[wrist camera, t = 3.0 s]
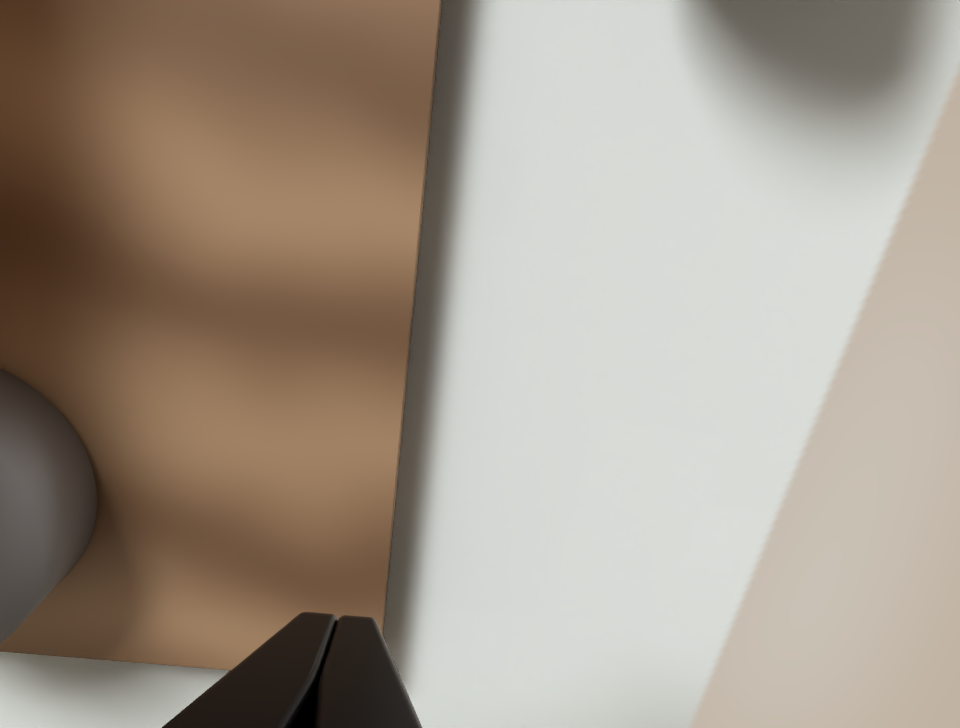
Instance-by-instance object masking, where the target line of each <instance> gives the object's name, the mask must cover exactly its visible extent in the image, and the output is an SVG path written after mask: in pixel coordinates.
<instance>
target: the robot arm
mask: <svg viewBox="0 0 960 728" xmlns="http://www.w3.org/2000/svg"><path fill="white" fill-rule="evenodd" d="M162 728H422V726H421V724H420V721H419V719H418V717H417V714H416V712H415V710H414V707H413V705H412V703H411V700H410V698H409V696H408V693H407V691H406V689H405V686H404V684H403V682H402V679H401V677H400V675H399V672H398V670H397V668H396V665H395V663H394V661H393V658H392V656H391V654H390V651H389V649H388V647H387V644H386V642H385V640H384V637H383V635H382V632H381V630H380V628H379V625H378V623H377V621H376V620H375V619H374V618H372V617H363V616H351V615H343V616H341V617H340V618H339V619H337V616H335V615H334V614H328V613H316V612H302V613H300V614H299V615H297V616H296V617H295V618H294V619H292V620H291V621H290V622H289V623H288V624H286V625H285V626H284V627H283V628H282V629H280V630H279V631H278V632H277V633H276V634H274V635H273V636H272V637H271V638H269V639H268V640H267V641H266V642H265V643H263V644H262V645H261V646H260V647H259V648H257V649H256V650H255V651H254V652H253V653H251V654H250V655H249V656H248V657H247V658H245V659H244V660H243V661H242V662H241V663H239V664H238V665H237V666H236V667H234V668H233V669H232V670H231V671H230V672H228V673H227V674H226V675H225V676H224V677H222V678H221V679H220V680H219V681H218V682H216V683H215V684H214V685H213V686H212V687H210V688H209V689H208V690H207V691H206V692H204V693H203V694H202V695H201V696H199V697H198V698H197V699H196V700H195V701H193V702H192V703H191V704H190V705H189V706H187V707H186V708H185V709H184V710H183V711H181V712H180V713H179V714H178V715H177V716H175V717H174V718H173V719H172V720H171V721H169V722H168V723H167V724H166V725H164V726H163V727H162Z"/></svg>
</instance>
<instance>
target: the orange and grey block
mask: <svg viewBox="0 0 960 728" xmlns="http://www.w3.org/2000/svg"><path fill="white" fill-rule="evenodd" d="M96 515H97V491H96V482H95V478H94V474H93V470H92V466H91V463H90V461H89V458H88V456H87V453H86V451H85V448H84V447H83V445H82V443H81V441H80V439H79V437H78V436H77V434H76V432H75V431H74V430H73V428H72V427H71V425H70V424H69V423H68V421H67V420H66V418H65V417H64V416H63V415H62V414H61V413H60V412H59V411H58V410H57V409H56V407H55V406H54V405H53V404H52V403H51V402H49V401H48V400H47V399H46V398H45V397H44V396H43V395H42V394H40V393H39V392H38V391H37V390H35V389H34V388H32V387H31V386H30V385H28V384H27V383H25V382H24V381H22V380H21V379H19V378H17V377H15V376H14V375H12V374H10V373H8V372H6V371H4V370H2V369H0V644H1V643H2V642H3V641H4V640H5V639H6V638H8V637H9V636H10V635H11V634H12V633H13V632H14V631H15V630H16V629H17V628H18V627H19V626H20V625H21V623H22V622H23V621H24V620H25V619H26V618H27V617H28V616H29V615H30V614H31V613H32V612H33V611H34V609H35V608H36V607H37V606H38V605H39V604H40V603H41V602H42V601H43V600H44V599H45V598H46V597H47V595H48V594H49V593H50V592H51V591H52V590H53V589H54V588H55V587H56V586H57V585H58V584H59V583H60V581H61V580H62V579H63V578H64V577H65V576H66V575H67V574H68V573H69V572H70V571H71V570H72V568H73V567H74V566H75V564H76V563H77V562H78V561H79V559H80V558H81V556H82V555H83V553H84V551H85V549H86V548H87V546H88V544H89V541H90V538H91V536H92V533H93V530H94V525H95V520H96Z"/></svg>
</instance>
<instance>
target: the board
mask: <svg viewBox="0 0 960 728" xmlns="http://www.w3.org/2000/svg"><path fill="white" fill-rule="evenodd" d="M442 1H443V0H0V369H2V370H4V371H6V372H8V373H10V374H12V375H14V376H15V377H17V378H19V379H21V380H22V381H24V382H25V383H27V384H28V385H30V386H31V387H32V388H34V389H35V390H37V391H38V392H39V393H40V394H42V395H43V396H44V397H45V398H46V399H47V400H48V401H49V402H51V403H52V404H53V405H54V406H55V407H56V409H57V410H58V411H59V412H60V413H61V414H62V415H63V416H64V417H65V418H66V420H67V421H68V423H69V424H70V425H71V427H72V428H73V430H74V431H75V432H76V434H77V436H78V437H79V439H80V441H81V443H82V445H83V447H84V448H85V451H86V453H87V456H88V458H89V461H90V463H91V466H92V470H93V474H94V478H95V482H96V491H97V515H96V520H95V525H94V530H93V533H92V536H91V538H90V541H89V544H88V546H87V548H86V549H85V551H84V553H83V555H82V556H81V558H80V559H79V561H78V562H77V563H76V564H75V566H74V567H73V568H72V570H71V571H70V572H69V573H68V574H67V575H66V576H65V577H64V578H63V579H62V580H61V581H60V583H59V584H58V585H57V586H56V587H55V588H54V589H53V590H52V591H51V592H50V593H49V594H48V595H47V597H46V598H45V599H44V600H43V601H42V602H41V603H40V604H39V605H38V606H37V607H36V608H35V609H34V611H33V612H32V613H31V614H30V615H29V616H28V617H27V618H26V619H25V620H24V621H23V622H22V623H21V625H20V626H19V627H18V628H17V629H16V630H15V631H14V632H13V633H12V634H11V635H10V636H9V637H8V638H6V639H5V640H4V641H3V642H2V643H1V644H0V651H1V652H14V653H26V654H38V655H51V656H63V657H75V658H88V659H100V660H112V661H125V662H137V663H149V664H162V665H174V666H186V667H198V668H211V669H223V670H232V669H233V668H234V667H236V666H237V665H238V664H239V663H241V662H242V661H243V660H244V659H245V658H247V657H248V656H249V655H250V654H251V653H253V652H254V651H255V650H256V649H257V648H259V647H260V646H261V645H262V644H263V643H265V642H266V641H267V640H268V639H269V638H271V637H272V636H273V635H274V634H276V633H277V632H278V631H279V630H280V629H282V628H283V627H284V626H285V625H286V624H288V623H289V622H290V621H291V620H292V619H294V618H295V617H296V616H297V615H299V614H300V613H302V612H316V613H328V614H334V615H335V616H337V619H339V618H340V617H341V616H343V615H351V616H363V617H372V618H374V619H375V620H376V621H377V623H378V625H379V628H380V630H381V632H382V635H383V630H384V619H385V608H386V598H387V587H388V576H389V566H390V555H391V544H392V534H393V523H394V512H395V502H396V491H397V481H398V470H399V459H400V449H401V438H402V427H403V417H404V406H405V395H406V385H407V374H408V363H409V353H410V342H411V331H412V321H413V310H414V299H415V289H416V278H417V267H418V257H419V246H420V235H421V225H422V214H423V203H424V193H425V182H426V171H427V161H428V150H429V139H430V129H431V118H432V107H433V97H434V86H435V75H436V65H437V54H438V43H439V33H440V22H441V11H442Z"/></svg>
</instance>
